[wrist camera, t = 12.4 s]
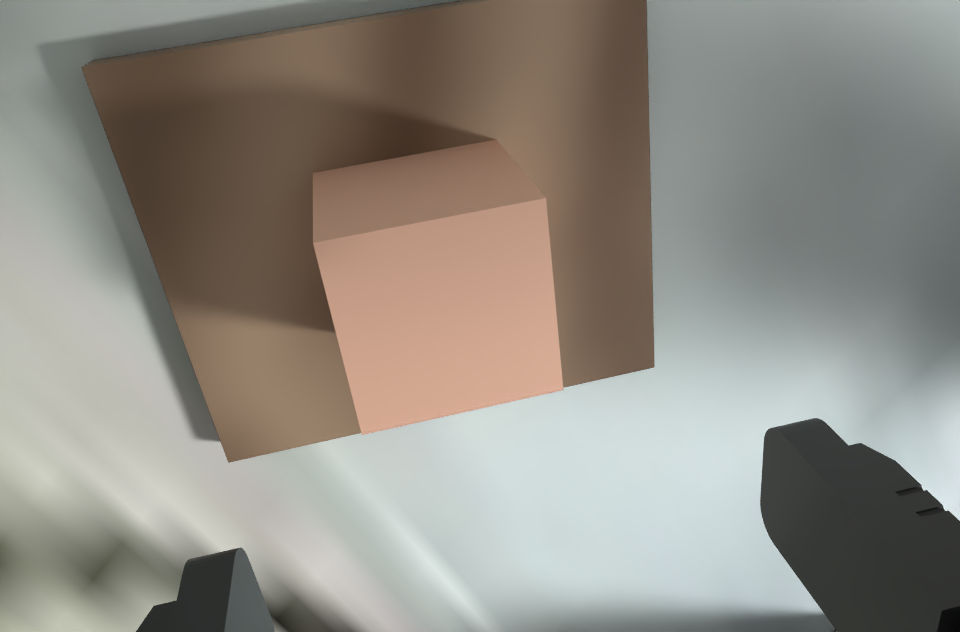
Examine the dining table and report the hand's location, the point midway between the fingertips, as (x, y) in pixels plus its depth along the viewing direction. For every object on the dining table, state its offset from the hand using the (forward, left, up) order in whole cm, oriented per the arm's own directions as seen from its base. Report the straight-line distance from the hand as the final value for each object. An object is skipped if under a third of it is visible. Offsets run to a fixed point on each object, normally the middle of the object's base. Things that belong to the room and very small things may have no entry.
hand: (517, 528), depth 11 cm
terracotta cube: (0, 0, -12) cm, 12 cm away
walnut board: (0, 0, -13) cm, 13 cm away
